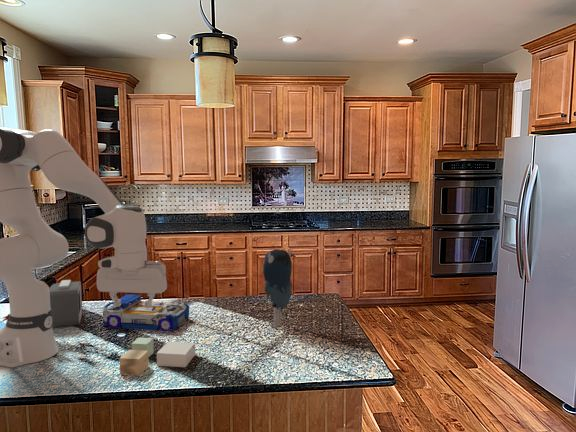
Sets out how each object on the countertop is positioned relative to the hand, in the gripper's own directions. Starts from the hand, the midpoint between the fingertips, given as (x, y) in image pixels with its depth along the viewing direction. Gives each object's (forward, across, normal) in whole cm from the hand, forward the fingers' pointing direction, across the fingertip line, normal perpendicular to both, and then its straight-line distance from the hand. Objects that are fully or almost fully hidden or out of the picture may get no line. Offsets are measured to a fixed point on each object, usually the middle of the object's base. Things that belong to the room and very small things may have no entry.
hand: (132, 306), depth 126 cm
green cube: (+20, +2, -10) cm, 22 cm away
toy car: (+20, +14, -39) cm, 46 cm away
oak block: (+20, 0, 0) cm, 20 cm away
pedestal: (+19, -10, -8) cm, 23 cm away
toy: (+20, -38, -41) cm, 59 cm away
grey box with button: (+19, +46, -36) cm, 62 cm away
